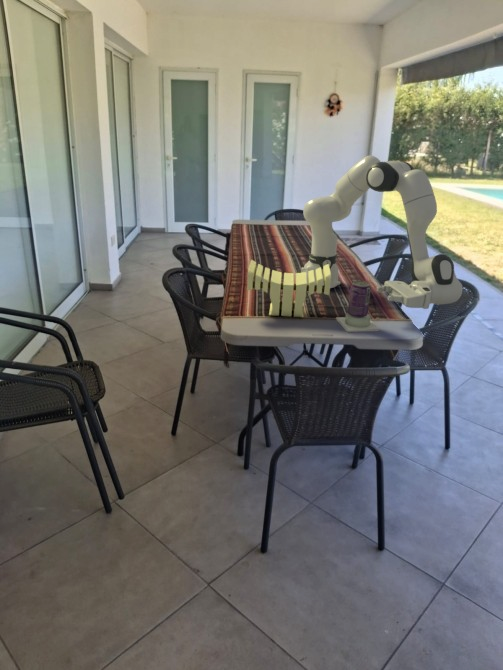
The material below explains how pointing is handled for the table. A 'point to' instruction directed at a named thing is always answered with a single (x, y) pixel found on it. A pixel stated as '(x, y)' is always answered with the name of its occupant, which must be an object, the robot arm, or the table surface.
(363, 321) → the pedestal stand
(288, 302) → the slatted curved stool
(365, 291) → the beverage can
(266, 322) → the table surface
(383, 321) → the table surface
